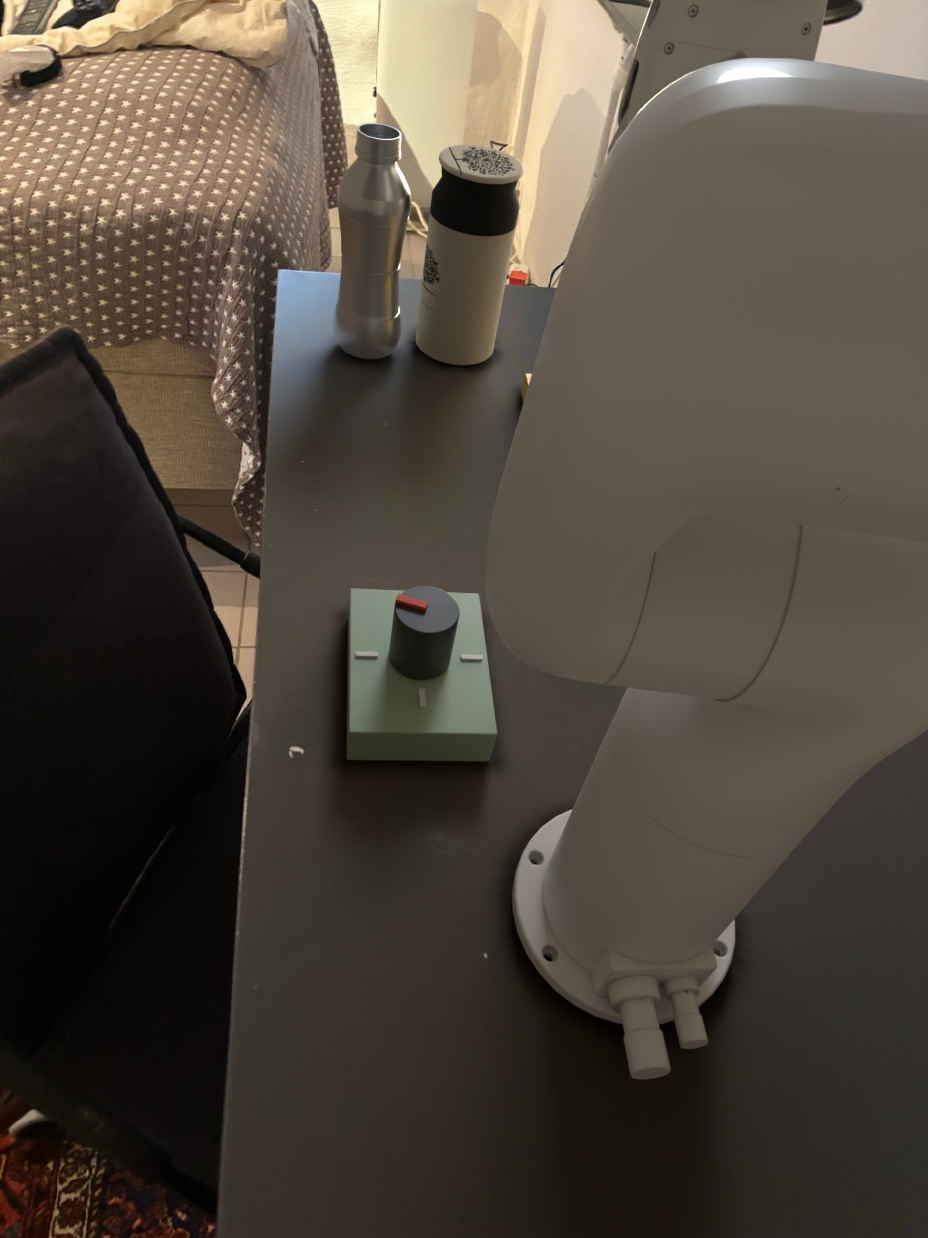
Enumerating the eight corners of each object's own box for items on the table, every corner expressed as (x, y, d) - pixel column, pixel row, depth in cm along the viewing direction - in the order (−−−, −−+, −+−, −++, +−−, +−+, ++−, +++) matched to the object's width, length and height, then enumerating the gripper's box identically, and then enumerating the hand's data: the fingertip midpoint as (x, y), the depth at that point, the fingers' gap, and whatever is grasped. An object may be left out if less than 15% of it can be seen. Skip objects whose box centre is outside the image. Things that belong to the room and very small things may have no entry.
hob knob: (457, 643, 58) (467, 592, 54) (440, 688, 55) (450, 637, 52) (399, 626, 58) (406, 574, 55) (380, 670, 55) (386, 618, 52)
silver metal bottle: (374, 375, 83) (391, 153, 69) (317, 348, 85) (322, 126, 71) (412, 350, 88) (435, 135, 73) (357, 325, 89) (369, 110, 75)
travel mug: (489, 330, 92) (521, 149, 79) (495, 371, 87) (531, 184, 74) (414, 322, 91) (434, 137, 78) (416, 364, 86) (438, 172, 73)
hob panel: (489, 761, 55) (498, 732, 53) (346, 760, 54) (348, 730, 52) (472, 621, 63) (479, 591, 61) (347, 617, 62) (349, 586, 60)
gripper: (644, -76, 44) (563, 277, 57) (912, -30, 47) (776, 299, 60) (614, -100, 49) (546, 229, 62) (856, -57, 52) (742, 251, 65)
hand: (658, 262), depth 61 cm, fingers closed
